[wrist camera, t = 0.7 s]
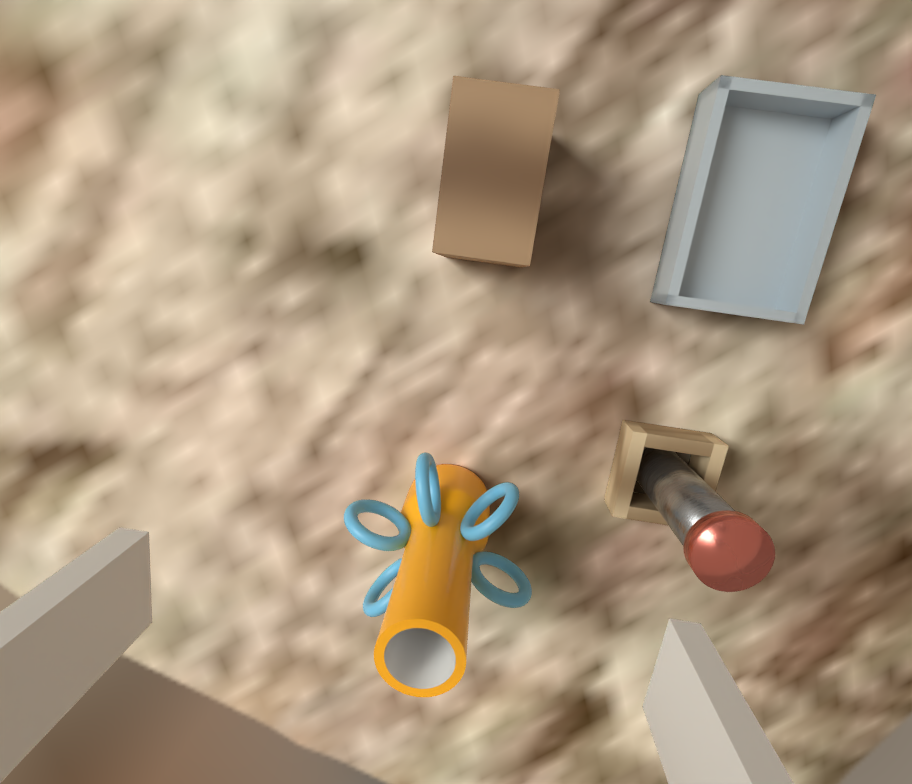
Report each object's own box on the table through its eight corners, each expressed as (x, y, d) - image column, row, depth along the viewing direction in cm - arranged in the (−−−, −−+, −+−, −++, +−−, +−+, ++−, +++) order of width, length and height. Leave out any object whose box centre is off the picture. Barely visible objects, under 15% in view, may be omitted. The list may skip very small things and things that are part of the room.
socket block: (622, 419, 33) (633, 431, 31) (711, 433, 33) (728, 445, 30) (604, 499, 34) (612, 516, 32) (688, 512, 34) (703, 530, 32)
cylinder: (362, 430, 35) (270, 544, 20) (508, 411, 33) (522, 518, 19) (393, 580, 37) (332, 776, 23) (529, 567, 36) (555, 764, 22)
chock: (461, 121, 29) (453, 75, 23) (543, 132, 29) (559, 89, 22) (444, 256, 31) (432, 252, 25) (521, 267, 31) (529, 265, 24)
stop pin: (635, 437, 33) (703, 514, 23) (690, 445, 33) (785, 527, 22) (622, 487, 34) (682, 584, 24) (676, 496, 34) (761, 597, 23)
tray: (698, 94, 28) (721, 75, 25) (838, 112, 28) (876, 94, 25) (650, 302, 31) (665, 304, 28) (776, 319, 31) (803, 324, 28)
